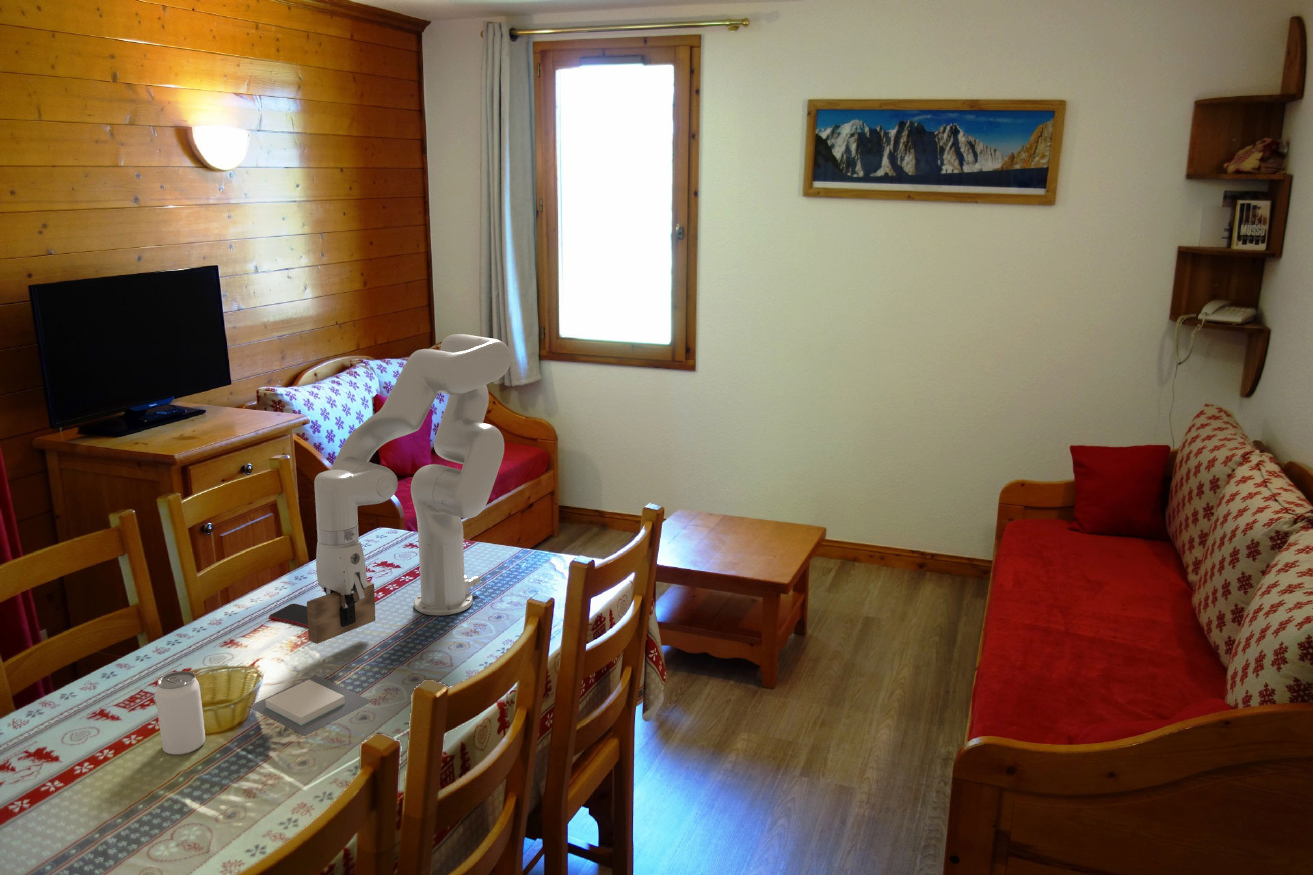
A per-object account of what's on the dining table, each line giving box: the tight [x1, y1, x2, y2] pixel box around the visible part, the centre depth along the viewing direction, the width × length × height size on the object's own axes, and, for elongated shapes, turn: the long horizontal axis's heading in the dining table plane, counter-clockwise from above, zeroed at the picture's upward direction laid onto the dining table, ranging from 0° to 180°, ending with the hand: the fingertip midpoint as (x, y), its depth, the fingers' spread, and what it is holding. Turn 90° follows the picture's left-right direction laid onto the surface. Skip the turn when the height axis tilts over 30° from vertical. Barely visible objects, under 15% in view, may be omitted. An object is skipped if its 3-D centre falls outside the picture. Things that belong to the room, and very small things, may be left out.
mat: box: [251, 674, 373, 737], centre depth 175 cm, size 14×16×1 cm
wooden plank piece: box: [306, 580, 376, 645], centre depth 194 cm, size 14×2×8 cm, turn 145°
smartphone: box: [268, 603, 308, 629], centre depth 210 cm, size 7×1×15 cm
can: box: [155, 670, 206, 756], centre depth 161 cm, size 6×6×12 cm
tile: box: [265, 680, 345, 726], centre depth 174 cm, size 2×10×9 cm
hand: (342, 621), depth 195 cm, fingers closed on wooden plank piece, 2 cm apart
